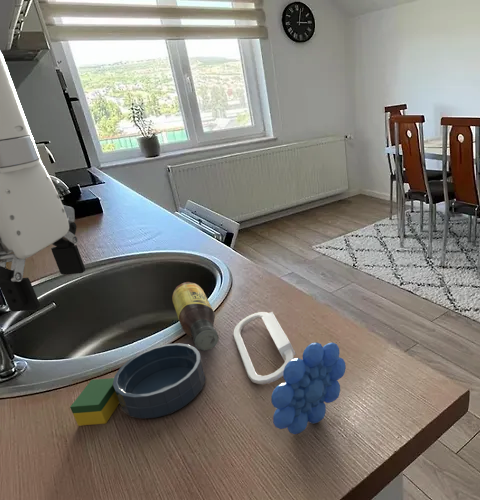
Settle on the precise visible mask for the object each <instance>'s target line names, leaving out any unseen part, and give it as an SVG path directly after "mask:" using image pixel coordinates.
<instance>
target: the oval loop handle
mask: <svg viewBox="0 0 480 500" xmlns="http://www.w3.org/2000/svg"><path fill="white" fill-rule="evenodd" d="M259 319H262V322H263V323H264V325H265V327H266V329H267V331H268V333H269V335H270V337H271V338H272V340H273V342H274V344H275V346H276V349H277V350H278V352H279V354H280V355H281V358H282V359H283V361H284V363H283V364H282V365H281V366H280V368H278V369H276V370H275V371H274V372H271V373H269V374H267V375H261V374H258V373H257V372H256V369H255V367H254V364H253V362H252V359H251V357H250V354H249V352H248V350H247V347H246V345H245V341H244V340H243V337H242V334H241V332H242V330H243V329H244V328H245V326H246V325H248V324H250V323H251V322H253V321H255V320H256V321H257V320H259ZM233 339H234V342H235V344H236V348H237V350H238V352H239V355H240V358H241V361H242V363H243V366H244V369H245V372H246V375H247V377H248V379H249V380H250V381H251V382H252V383H253V384H257V385H267V384H271V383H273V382H276V381H278V380H279V379H281V378H282V377H283V371H284V368H285V366H286V365H287V363H288V362H289V361H290V360H292V359H295V356H296V355H297V353H296V351H295V349H294V347H293V345H292V343H291V341H290V340H289V338H288V335H287V334H286V332H285V331H284V329H283V328H282V326H281V324H280V323H279V321H278V319H277V317H276V316H275V314H274V312H273V311H269V312H267V311H258V312H254V313H252V314H249V315H247V316H246V317H244V318H242V319H241V320H240V321H239V322H238V323H237V324H236V326H235V327H234V329H233Z"/></svg>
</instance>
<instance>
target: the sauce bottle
mask: <svg viewBox="0 0 480 500" xmlns="http://www.w3.org/2000/svg"><path fill="white" fill-rule="evenodd" d="M171 298H172V304H173V307H174V309H175V313H176V316H177V318H178V322H179V324H180V326H181V328H182V330H183V332H184V333H185V334H186V335H187V336H189V337H192V341H193V345H194V347H195V348H196V349H197V350H200V351H203V352H204V351H205V352H206V351H209V350H212V349H214V348H215V347H216V345H218V343H219V333H218V332H217V330H216V328H215V327H214V323H215V319H216V314H215V311H214V309H213V307H212V305H211V303H210V301H209V298H208V297H207V295H206V293H205V292H204V289H203V288H202V287H201V286H200V285H199V284H197V283H195V282H190V281H186V282H183V283H181V284H179V285H177V286H176V287H175V289H174V290H173V293H172V295H171Z"/></svg>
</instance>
